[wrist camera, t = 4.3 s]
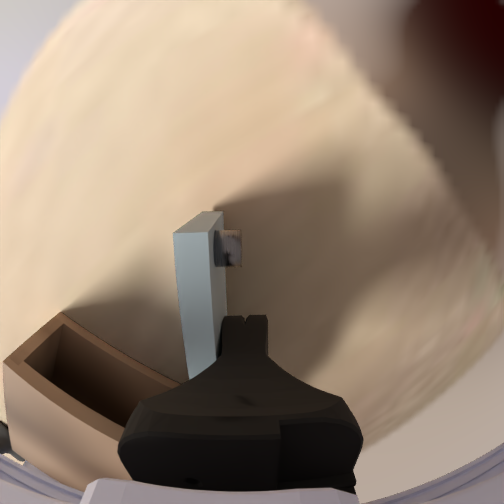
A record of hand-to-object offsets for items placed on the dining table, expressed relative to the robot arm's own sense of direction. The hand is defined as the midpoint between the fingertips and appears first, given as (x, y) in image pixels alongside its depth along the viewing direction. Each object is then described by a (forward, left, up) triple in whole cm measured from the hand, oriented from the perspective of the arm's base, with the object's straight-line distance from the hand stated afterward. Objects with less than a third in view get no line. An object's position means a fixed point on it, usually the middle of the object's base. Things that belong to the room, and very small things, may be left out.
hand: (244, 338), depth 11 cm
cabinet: (-9, +4, -2) cm, 10 cm away
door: (0, +1, -1) cm, 2 cm away
